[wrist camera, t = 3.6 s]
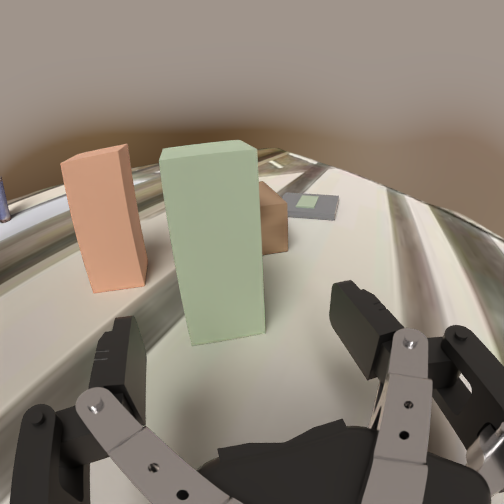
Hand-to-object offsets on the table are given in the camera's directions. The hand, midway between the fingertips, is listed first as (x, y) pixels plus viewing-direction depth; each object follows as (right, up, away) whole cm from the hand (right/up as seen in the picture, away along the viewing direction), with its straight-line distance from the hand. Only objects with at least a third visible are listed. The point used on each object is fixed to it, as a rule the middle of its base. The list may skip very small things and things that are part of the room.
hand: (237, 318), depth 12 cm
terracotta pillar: (-12, 0, +17) cm, 21 cm away
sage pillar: (-1, -2, +11) cm, 11 cm away
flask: (-53, +10, +41) cm, 68 cm away
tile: (+8, +9, +31) cm, 33 cm away
